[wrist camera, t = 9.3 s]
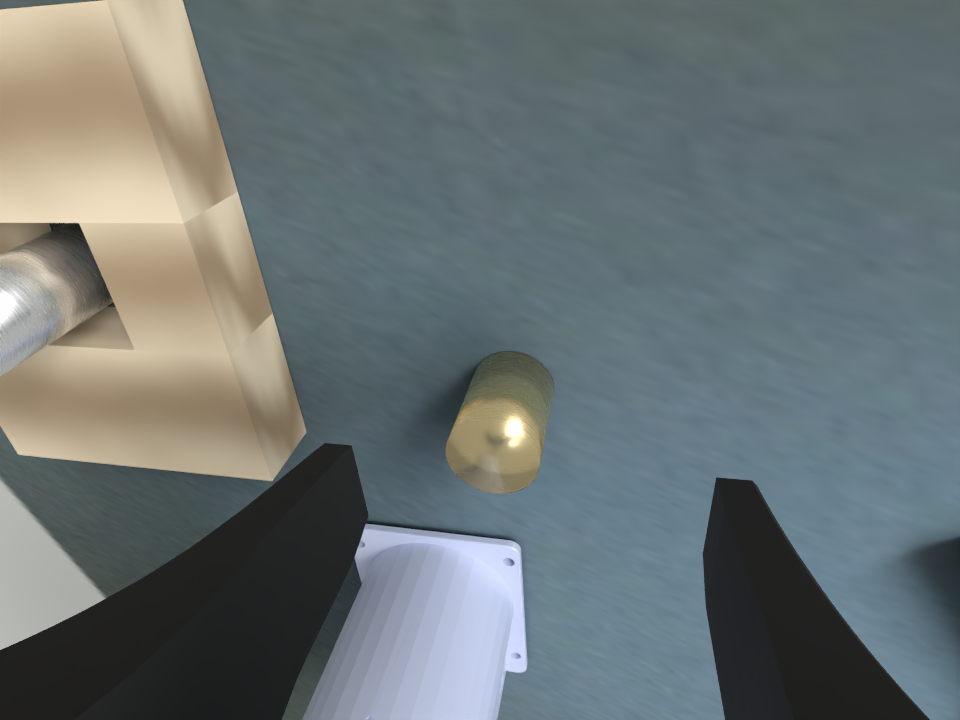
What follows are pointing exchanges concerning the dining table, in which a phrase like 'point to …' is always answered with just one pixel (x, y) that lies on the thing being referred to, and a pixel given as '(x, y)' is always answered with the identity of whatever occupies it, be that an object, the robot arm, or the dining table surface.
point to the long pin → (46, 292)
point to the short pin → (502, 424)
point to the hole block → (137, 250)
